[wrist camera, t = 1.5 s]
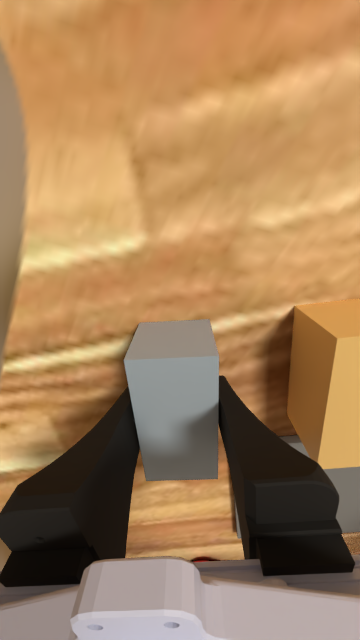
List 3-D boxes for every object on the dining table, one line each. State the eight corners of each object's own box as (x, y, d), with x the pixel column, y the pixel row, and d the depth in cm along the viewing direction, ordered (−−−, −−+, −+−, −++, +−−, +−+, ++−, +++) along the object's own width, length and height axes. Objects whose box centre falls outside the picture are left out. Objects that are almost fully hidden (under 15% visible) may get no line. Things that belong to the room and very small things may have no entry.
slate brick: (208, 318, 13) (218, 356, 10) (209, 421, 16) (217, 479, 13) (139, 321, 13) (123, 360, 10) (154, 422, 17) (146, 480, 13)
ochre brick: (367, 296, 13) (443, 327, 9) (345, 407, 16) (394, 464, 12) (293, 304, 13) (337, 338, 9) (285, 412, 16) (316, 469, 12)
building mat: (402, 426, 16) (410, 433, 15) (369, 522, 21) (374, 530, 20) (230, 440, 17) (231, 448, 16) (236, 530, 22) (237, 538, 21)
